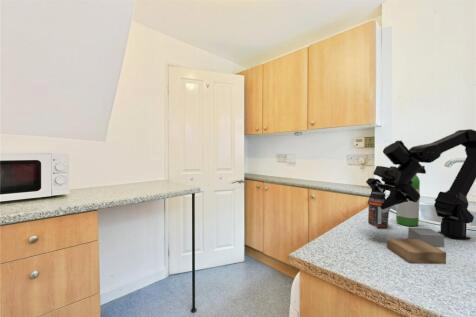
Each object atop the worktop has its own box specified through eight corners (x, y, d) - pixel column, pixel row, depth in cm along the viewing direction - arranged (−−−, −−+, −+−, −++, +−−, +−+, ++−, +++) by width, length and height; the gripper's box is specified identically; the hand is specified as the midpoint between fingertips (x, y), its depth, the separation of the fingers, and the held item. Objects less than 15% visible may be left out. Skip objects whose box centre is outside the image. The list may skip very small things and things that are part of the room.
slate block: (430, 239, 83) (430, 228, 82) (443, 248, 76) (444, 235, 76) (408, 238, 84) (408, 227, 84) (419, 246, 77) (419, 234, 77)
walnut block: (418, 248, 75) (418, 238, 75) (445, 263, 65) (446, 252, 65) (386, 247, 75) (387, 238, 75) (409, 262, 65) (409, 252, 65)
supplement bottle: (364, 222, 85) (364, 191, 84) (380, 222, 85) (380, 191, 85) (375, 228, 79) (376, 194, 78) (392, 227, 79) (392, 194, 79)
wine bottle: (411, 227, 95) (413, 153, 94) (391, 222, 102) (393, 153, 101) (422, 225, 98) (425, 153, 97) (403, 220, 105) (405, 153, 104)
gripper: (370, 157, 91) (343, 186, 90) (412, 158, 72) (379, 195, 71) (388, 177, 92) (362, 205, 91) (434, 183, 74) (402, 220, 72)
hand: (374, 206), depth 81 cm, fingers closed on supplement bottle, 6 cm apart
